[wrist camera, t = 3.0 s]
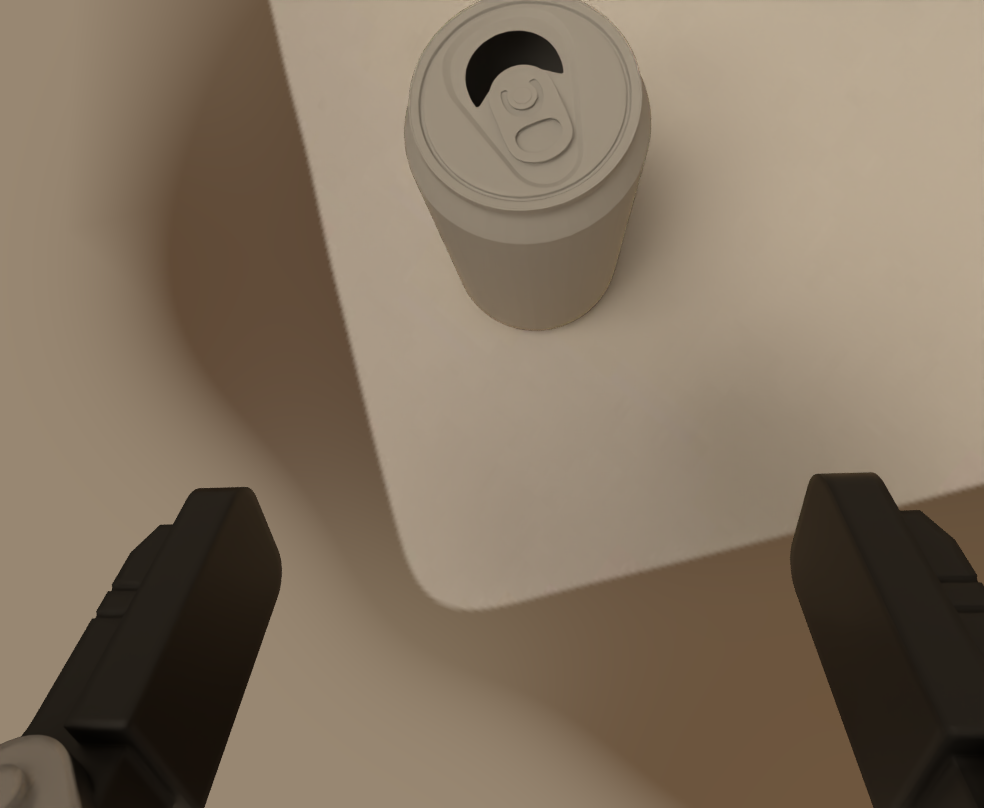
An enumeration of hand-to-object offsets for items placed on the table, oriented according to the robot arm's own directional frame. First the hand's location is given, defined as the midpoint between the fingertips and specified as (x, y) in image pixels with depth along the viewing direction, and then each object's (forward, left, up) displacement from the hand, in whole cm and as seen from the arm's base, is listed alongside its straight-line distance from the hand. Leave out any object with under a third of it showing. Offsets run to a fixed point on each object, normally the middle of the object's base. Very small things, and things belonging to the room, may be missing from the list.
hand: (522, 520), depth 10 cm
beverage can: (-3, +9, -17) cm, 20 cm away
